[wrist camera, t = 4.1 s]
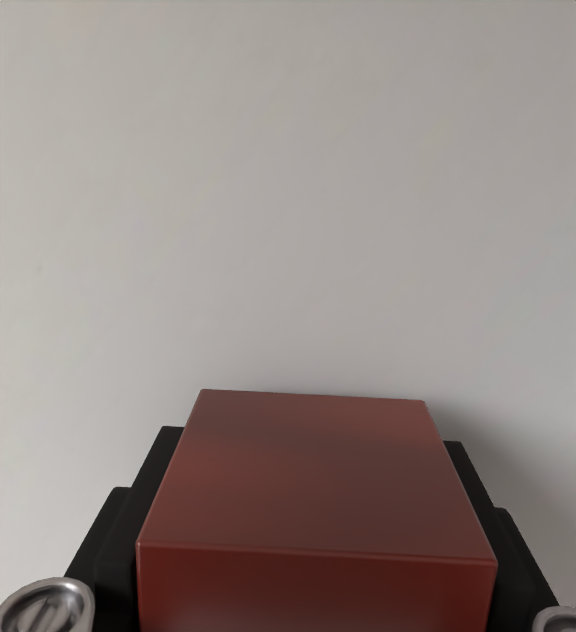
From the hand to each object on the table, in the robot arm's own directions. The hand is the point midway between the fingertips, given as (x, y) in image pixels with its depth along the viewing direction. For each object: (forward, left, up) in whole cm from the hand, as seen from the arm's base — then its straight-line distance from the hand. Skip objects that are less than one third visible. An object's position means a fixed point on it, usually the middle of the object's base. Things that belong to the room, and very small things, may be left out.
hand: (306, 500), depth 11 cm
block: (0, 0, 0) cm, 0 cm away
